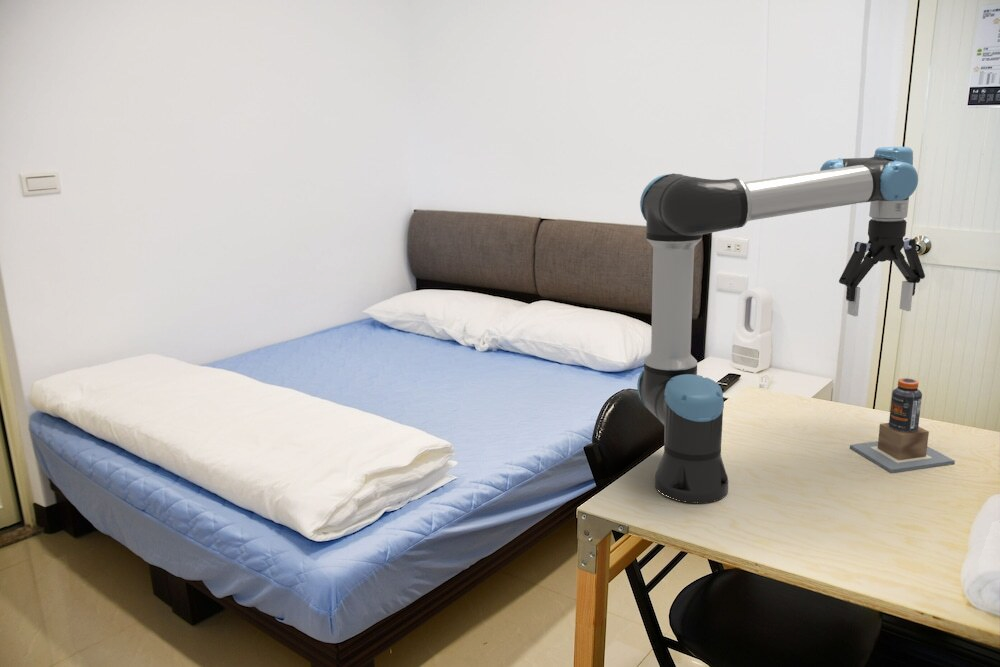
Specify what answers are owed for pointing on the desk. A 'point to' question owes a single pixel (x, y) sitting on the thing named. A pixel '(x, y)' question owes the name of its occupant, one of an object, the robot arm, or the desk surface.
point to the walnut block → (903, 442)
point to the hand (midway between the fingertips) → (878, 312)
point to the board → (895, 465)
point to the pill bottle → (905, 406)
